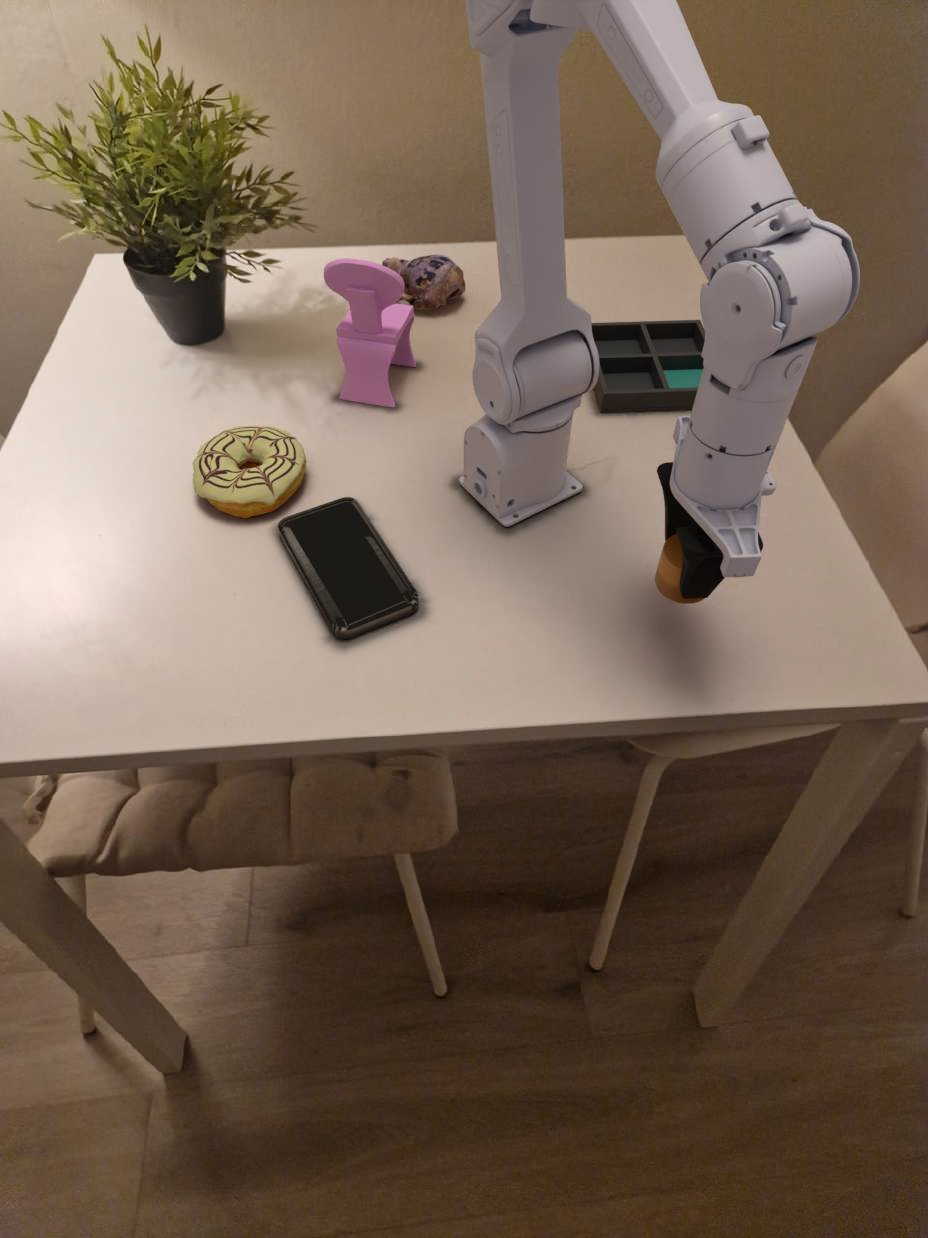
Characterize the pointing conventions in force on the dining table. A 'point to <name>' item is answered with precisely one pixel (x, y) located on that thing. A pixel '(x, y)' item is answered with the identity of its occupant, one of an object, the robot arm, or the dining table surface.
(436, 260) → the toy tortoise
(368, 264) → the toy chair
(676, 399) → the grid
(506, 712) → the dining table surface
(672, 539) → the orange cylinder
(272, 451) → the decorated donut
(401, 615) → the phone
